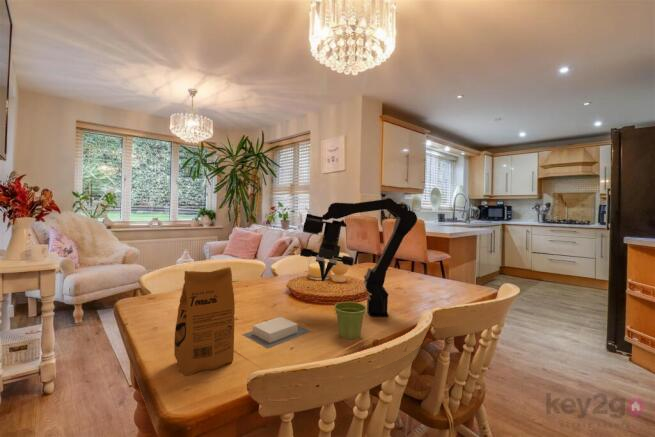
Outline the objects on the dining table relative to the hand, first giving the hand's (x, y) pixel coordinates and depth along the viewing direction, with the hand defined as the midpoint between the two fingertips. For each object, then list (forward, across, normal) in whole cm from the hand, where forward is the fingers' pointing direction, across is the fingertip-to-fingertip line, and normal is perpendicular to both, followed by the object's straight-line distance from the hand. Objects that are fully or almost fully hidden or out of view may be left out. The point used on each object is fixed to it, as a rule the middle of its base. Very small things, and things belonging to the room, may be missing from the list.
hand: (322, 281), depth 106 cm
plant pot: (+12, +12, -15) cm, 23 cm away
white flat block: (+13, -6, -15) cm, 21 cm away
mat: (+15, -8, -18) cm, 25 cm away
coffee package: (+20, -20, -36) cm, 46 cm away
